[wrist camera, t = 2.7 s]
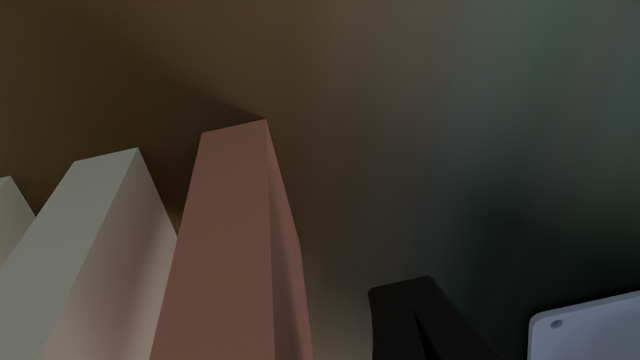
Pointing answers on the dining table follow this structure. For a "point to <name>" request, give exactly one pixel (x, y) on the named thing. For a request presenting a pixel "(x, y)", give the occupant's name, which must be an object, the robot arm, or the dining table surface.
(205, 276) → the domino
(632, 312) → the robot arm
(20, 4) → the dining table surface
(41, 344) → the domino
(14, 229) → the domino
